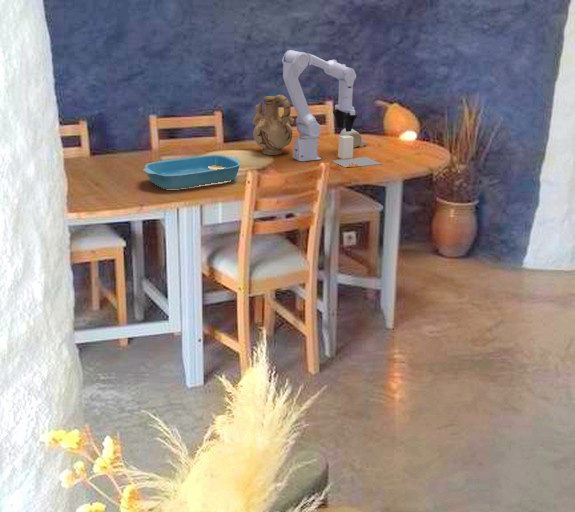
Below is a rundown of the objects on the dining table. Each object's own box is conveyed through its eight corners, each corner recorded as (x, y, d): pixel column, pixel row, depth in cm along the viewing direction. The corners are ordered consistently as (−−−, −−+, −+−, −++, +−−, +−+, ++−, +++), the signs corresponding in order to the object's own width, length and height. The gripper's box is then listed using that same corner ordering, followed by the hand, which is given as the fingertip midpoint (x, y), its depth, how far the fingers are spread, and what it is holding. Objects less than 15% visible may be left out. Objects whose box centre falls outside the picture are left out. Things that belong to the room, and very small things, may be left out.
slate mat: (345, 168, 346) (345, 167, 346) (331, 161, 357) (331, 160, 357) (381, 164, 352) (381, 163, 352) (366, 157, 363) (366, 157, 363)
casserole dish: (158, 196, 308) (157, 176, 305) (134, 182, 326) (133, 163, 323) (251, 183, 325) (251, 164, 323) (224, 170, 343) (224, 152, 341)
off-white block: (343, 159, 360) (343, 137, 357) (338, 157, 364) (338, 135, 361) (352, 158, 361) (353, 137, 358) (347, 156, 365) (348, 134, 362)
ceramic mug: (347, 149, 378) (348, 131, 376) (338, 145, 386) (339, 127, 383) (369, 147, 382) (370, 129, 380) (360, 143, 389) (361, 126, 387)
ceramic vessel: (294, 148, 379) (294, 89, 371) (296, 158, 361) (296, 97, 353) (251, 148, 379) (250, 89, 370) (251, 158, 361) (250, 97, 352)
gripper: (362, 98, 357) (361, 132, 362) (346, 93, 370) (344, 125, 374) (346, 99, 355) (345, 133, 359) (330, 94, 367) (329, 126, 372)
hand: (344, 129), depth 366 cm, fingers open, 7 cm apart
